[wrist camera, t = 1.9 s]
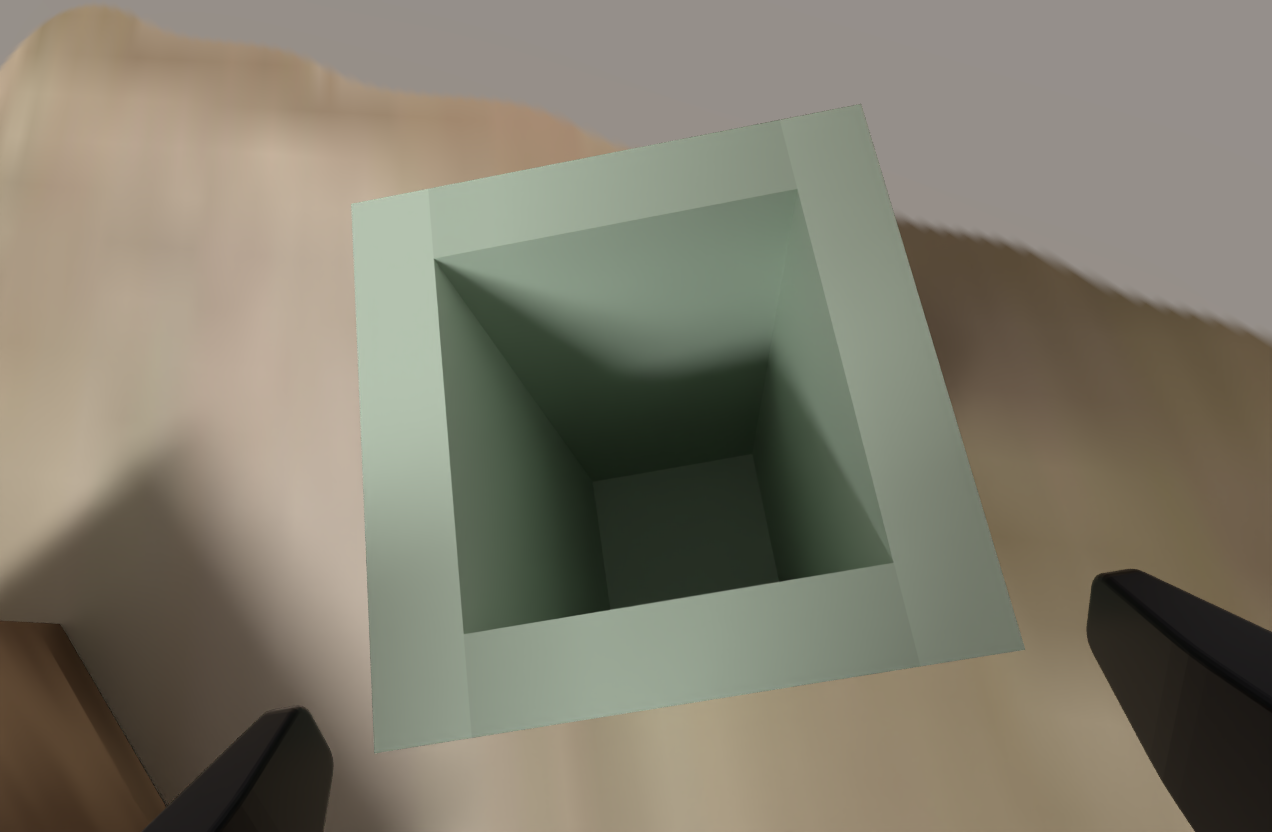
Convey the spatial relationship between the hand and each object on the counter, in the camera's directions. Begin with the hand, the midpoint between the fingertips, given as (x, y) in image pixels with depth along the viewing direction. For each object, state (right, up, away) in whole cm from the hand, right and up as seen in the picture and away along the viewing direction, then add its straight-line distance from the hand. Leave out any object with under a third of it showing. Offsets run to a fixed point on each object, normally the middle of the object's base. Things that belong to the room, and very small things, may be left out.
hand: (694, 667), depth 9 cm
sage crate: (+1, -1, +10) cm, 10 cm away
